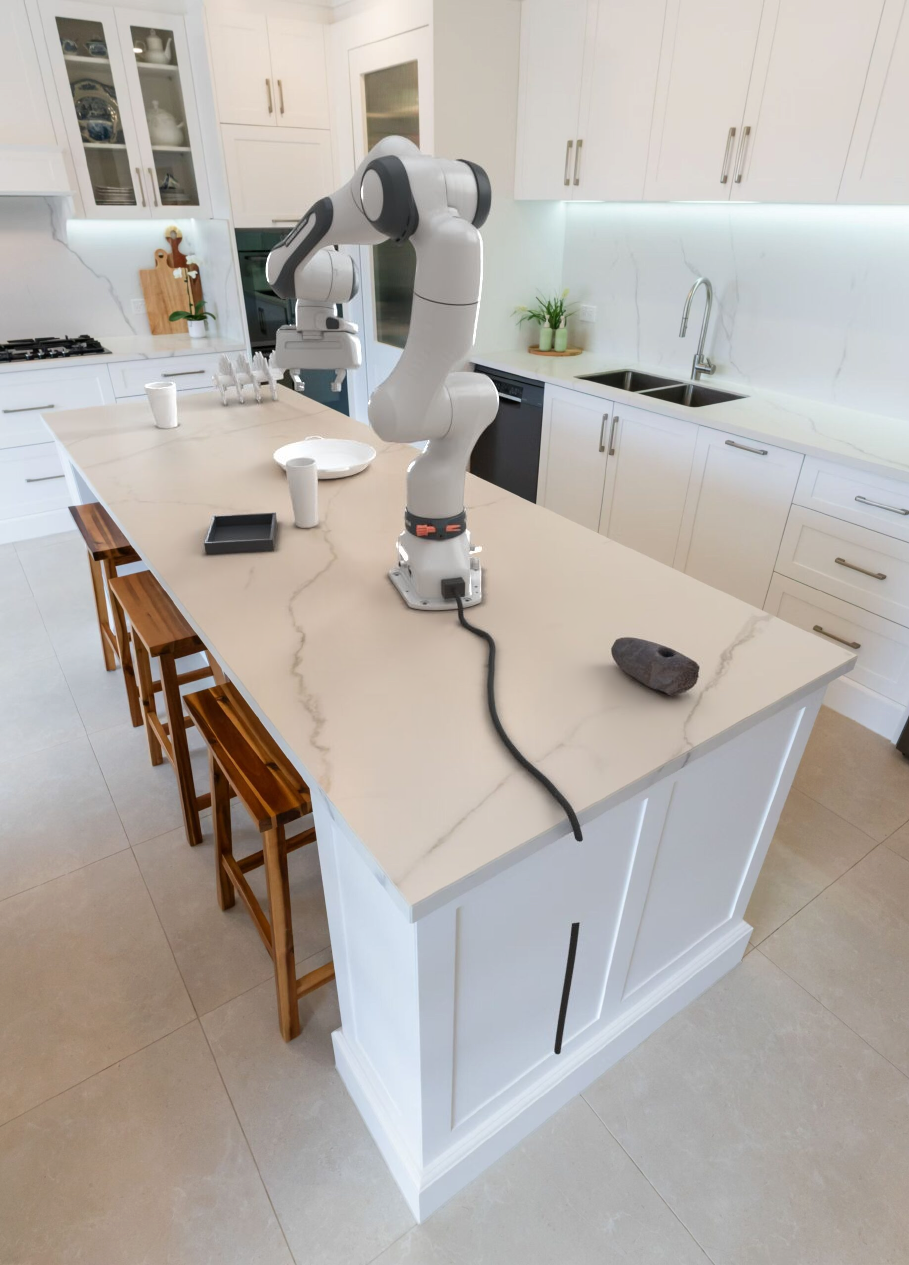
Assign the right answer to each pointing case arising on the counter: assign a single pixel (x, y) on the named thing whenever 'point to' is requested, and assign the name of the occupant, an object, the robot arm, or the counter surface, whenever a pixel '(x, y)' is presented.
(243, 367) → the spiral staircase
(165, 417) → the foam cup
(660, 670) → the perforated stone tool
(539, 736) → the counter surface
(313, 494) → the white tall cup
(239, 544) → the baking tray
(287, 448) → the pan
